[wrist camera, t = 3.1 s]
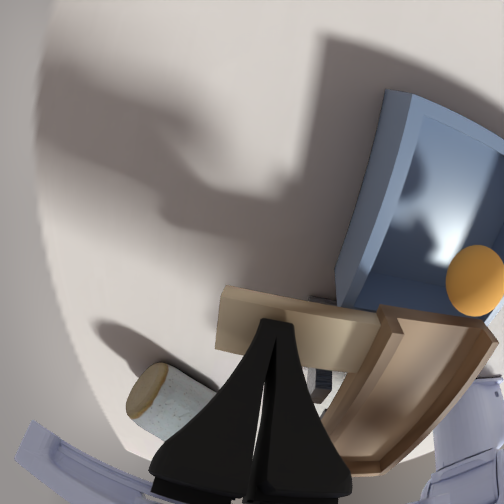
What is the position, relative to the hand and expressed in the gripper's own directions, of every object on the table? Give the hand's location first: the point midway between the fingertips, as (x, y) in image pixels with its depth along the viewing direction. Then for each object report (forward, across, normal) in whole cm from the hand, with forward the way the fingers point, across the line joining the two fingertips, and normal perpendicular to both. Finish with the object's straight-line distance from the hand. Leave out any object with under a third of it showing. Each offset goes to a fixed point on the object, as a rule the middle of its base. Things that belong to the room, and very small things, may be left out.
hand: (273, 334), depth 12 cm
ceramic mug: (+6, +7, +19) cm, 21 cm away
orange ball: (0, -8, -4) cm, 9 cm away
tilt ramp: (+2, -5, +6) cm, 8 cm away
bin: (+5, -8, -5) cm, 11 cm away
